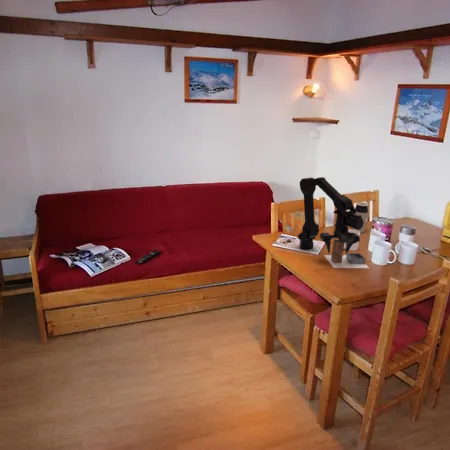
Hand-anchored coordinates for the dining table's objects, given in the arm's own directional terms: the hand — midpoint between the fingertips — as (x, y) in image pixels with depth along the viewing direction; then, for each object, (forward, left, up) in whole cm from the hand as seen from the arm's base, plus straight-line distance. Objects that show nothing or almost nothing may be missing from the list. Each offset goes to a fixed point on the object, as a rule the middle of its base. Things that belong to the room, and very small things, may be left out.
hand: (337, 253), depth 204 cm
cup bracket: (+10, 0, -6) cm, 11 cm away
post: (0, 0, -4) cm, 4 cm away
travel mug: (+32, +50, -6) cm, 60 cm away
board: (+5, 0, -6) cm, 7 cm away
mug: (+13, +18, -6) cm, 23 cm away
